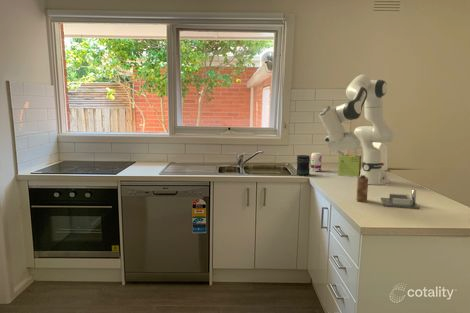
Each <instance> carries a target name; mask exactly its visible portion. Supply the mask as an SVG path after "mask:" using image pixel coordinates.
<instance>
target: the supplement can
mask: <svg viewBox="0 0 470 313" xmlns="http://www.w3.org/2000/svg"><path fill="white" fill-rule="evenodd" d="M322 155H323V154H322V153H321V152H312V153H311V155H310V158H311V159H310V171H311V170H312V171H320V172H321V171H322V158H323V156H322ZM312 171H311V172H312Z"/></svg>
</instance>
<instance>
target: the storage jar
mask: <svg viewBox="0 0 470 313" xmlns="http://www.w3.org/2000/svg"><path fill="white" fill-rule="evenodd" d="M310 158H311V155H305V154H302V155H301V154H299V155H297V156H296V176H298V175H299V177H309V176H310V171H311V167H310V164H311V159H310ZM308 175H309V176H308Z"/></svg>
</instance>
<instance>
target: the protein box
mask: <svg viewBox="0 0 470 313" xmlns="http://www.w3.org/2000/svg"><path fill="white" fill-rule="evenodd" d="M361 169H362V154H357V155H354V154H352V153H351V154H350V153H349V154H347V153H346V154H345V153H344V156H343V157H341V156H340V154H338V166H337V175H338V174H339V175H338V176H343V175H349V176H348V177H353V176H357V177H356V178H358V177H360V173H361Z"/></svg>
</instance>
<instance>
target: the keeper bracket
mask: <svg viewBox="0 0 470 313" xmlns="http://www.w3.org/2000/svg"><path fill="white" fill-rule="evenodd" d="M380 200H381V203H382V205H383V206H384V207H387V208H388V207H390V208H400V209H413V210H415V209H417V210H419V209H420V206H419V205H418V204H417V203H416V202H417V201H416V200H417V189H412V190H411V196H410V194H402V193H389V195H388V197H380Z"/></svg>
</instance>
